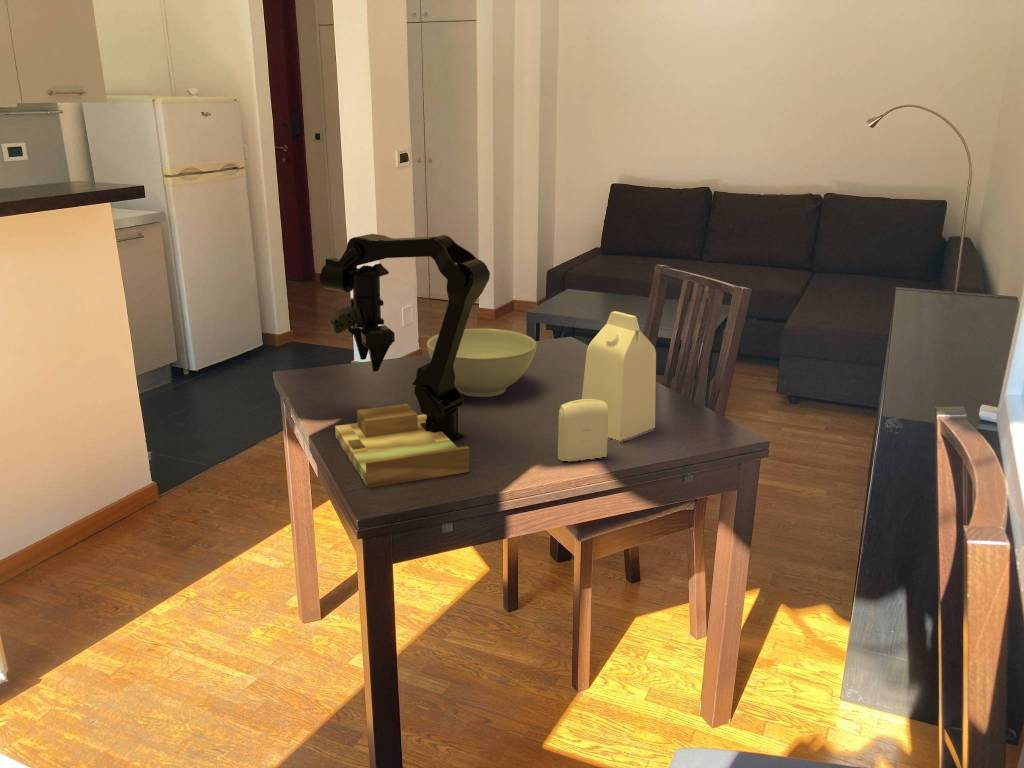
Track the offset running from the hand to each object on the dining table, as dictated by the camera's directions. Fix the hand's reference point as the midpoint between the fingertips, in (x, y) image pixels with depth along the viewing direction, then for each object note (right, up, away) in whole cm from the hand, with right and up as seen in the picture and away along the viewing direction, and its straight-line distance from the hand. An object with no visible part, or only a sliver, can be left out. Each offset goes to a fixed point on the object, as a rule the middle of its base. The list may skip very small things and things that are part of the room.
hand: (369, 365), depth 187 cm
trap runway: (+8, -18, -12) cm, 23 cm away
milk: (+54, -14, +2) cm, 56 cm away
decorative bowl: (+23, -6, +27) cm, 36 cm away
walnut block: (+5, -13, -6) cm, 15 cm away
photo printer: (+45, -19, -13) cm, 51 cm away
